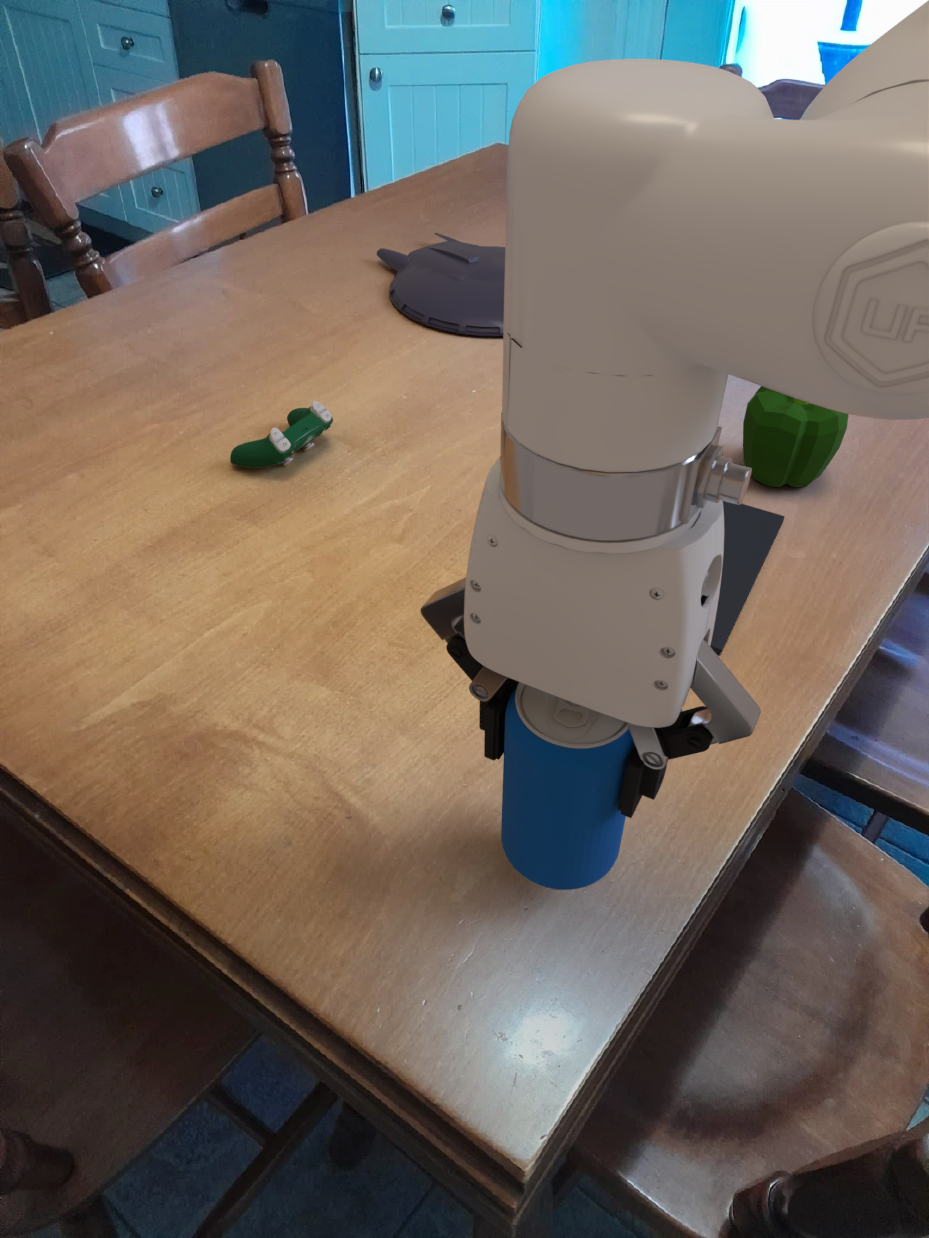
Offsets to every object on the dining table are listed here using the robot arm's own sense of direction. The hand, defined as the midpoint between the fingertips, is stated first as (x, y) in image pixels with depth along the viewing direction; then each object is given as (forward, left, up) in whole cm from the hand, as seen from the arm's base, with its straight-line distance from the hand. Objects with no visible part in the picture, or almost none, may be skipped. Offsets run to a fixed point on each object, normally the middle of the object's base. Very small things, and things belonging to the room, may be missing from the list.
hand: (568, 764), depth 45 cm
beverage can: (0, 0, -7) cm, 7 cm away
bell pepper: (-1, -46, -9) cm, 47 cm away
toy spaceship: (+41, -68, -9) cm, 80 cm away
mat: (+5, -30, -9) cm, 32 cm away
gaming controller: (+39, -27, -9) cm, 48 cm away
